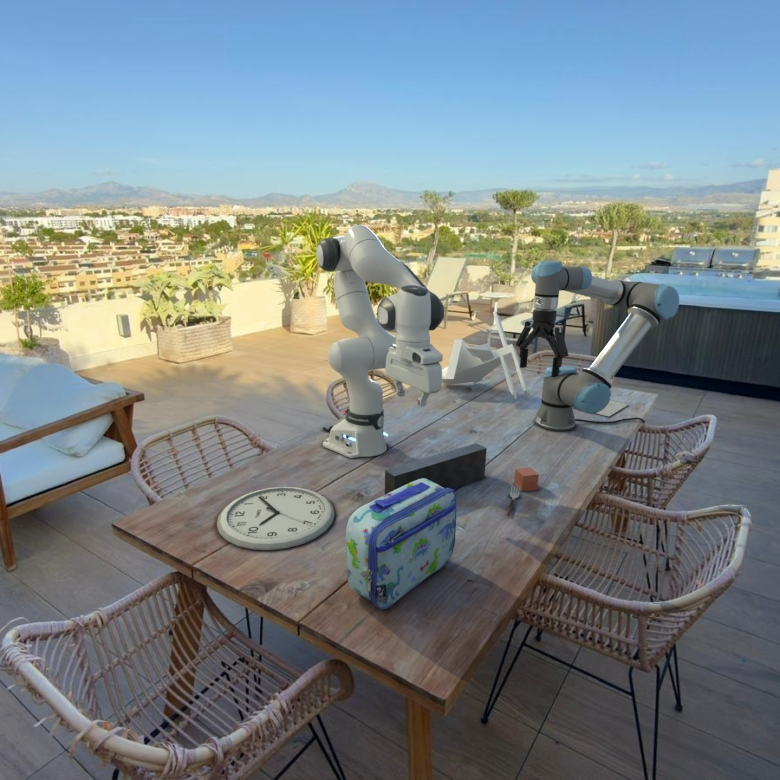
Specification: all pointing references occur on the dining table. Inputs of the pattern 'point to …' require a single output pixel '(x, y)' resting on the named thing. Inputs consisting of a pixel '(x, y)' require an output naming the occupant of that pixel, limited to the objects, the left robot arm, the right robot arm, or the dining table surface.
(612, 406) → the invitation card
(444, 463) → the bar
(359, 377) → the left robot arm
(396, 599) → the lunch box
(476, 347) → the white plastic object
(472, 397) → the dining table surface
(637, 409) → the dining table surface
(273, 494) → the wall clock
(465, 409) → the dining table surface
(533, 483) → the terracotta block
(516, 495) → the fork
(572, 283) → the right robot arm
